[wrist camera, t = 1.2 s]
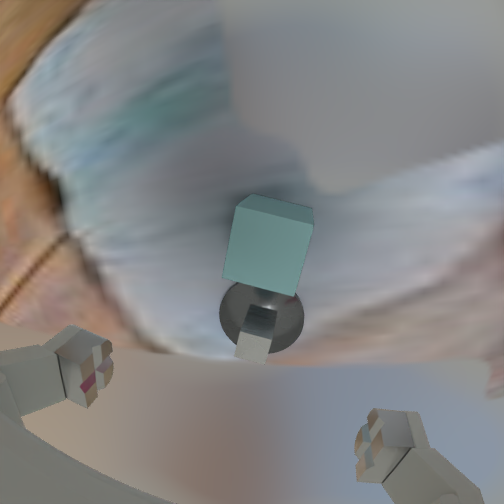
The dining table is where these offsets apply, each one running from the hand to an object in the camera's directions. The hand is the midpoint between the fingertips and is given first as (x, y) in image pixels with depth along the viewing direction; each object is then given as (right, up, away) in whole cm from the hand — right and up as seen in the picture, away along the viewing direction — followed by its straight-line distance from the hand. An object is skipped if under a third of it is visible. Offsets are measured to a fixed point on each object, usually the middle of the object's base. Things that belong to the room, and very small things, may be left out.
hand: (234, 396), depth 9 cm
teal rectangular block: (+2, +6, +19) cm, 20 cm away
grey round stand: (+1, -2, +22) cm, 22 cm away
